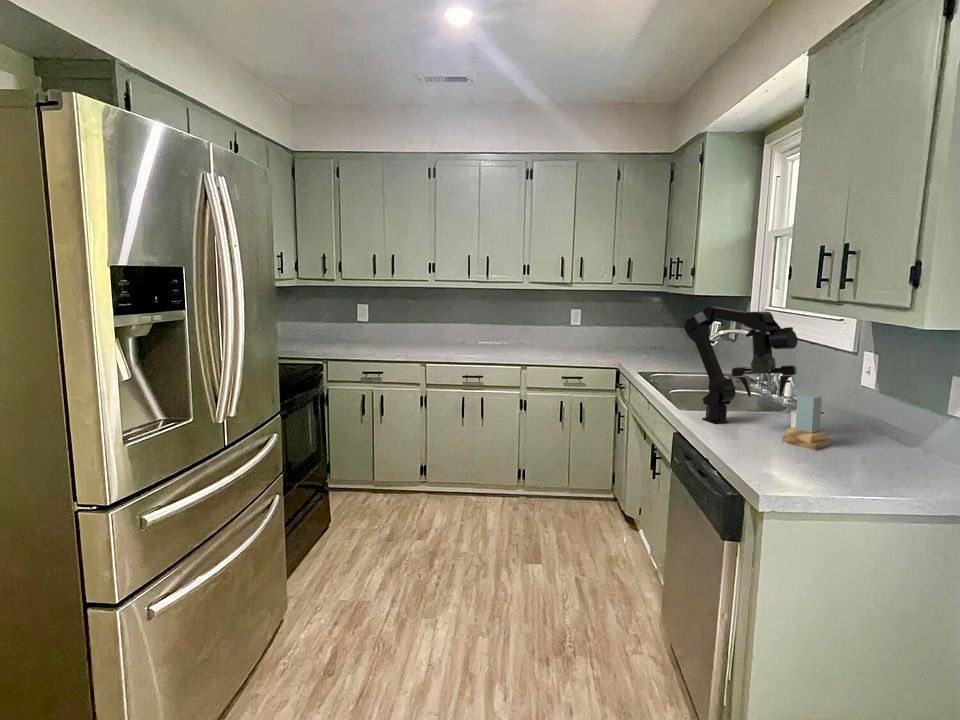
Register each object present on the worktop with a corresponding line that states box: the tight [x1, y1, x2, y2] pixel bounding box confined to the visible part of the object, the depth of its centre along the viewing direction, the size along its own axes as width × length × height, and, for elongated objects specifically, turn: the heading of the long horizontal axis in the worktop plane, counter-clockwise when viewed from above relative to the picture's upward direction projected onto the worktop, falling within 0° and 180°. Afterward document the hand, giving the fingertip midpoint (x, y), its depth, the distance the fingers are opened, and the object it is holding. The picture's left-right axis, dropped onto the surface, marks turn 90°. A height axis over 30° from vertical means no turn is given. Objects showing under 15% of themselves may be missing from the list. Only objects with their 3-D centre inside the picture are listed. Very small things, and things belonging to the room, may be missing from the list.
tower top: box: [785, 427, 828, 443], centre depth 181 cm, size 8×8×2 cm
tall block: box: [795, 393, 823, 433], centre depth 179 cm, size 5×5×11 cm
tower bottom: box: [781, 435, 831, 451], centre depth 181 cm, size 10×10×2 cm
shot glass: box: [790, 409, 797, 428], centre depth 193 cm, size 7×7×7 cm
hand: (765, 396), depth 188 cm, fingers open, 9 cm apart
